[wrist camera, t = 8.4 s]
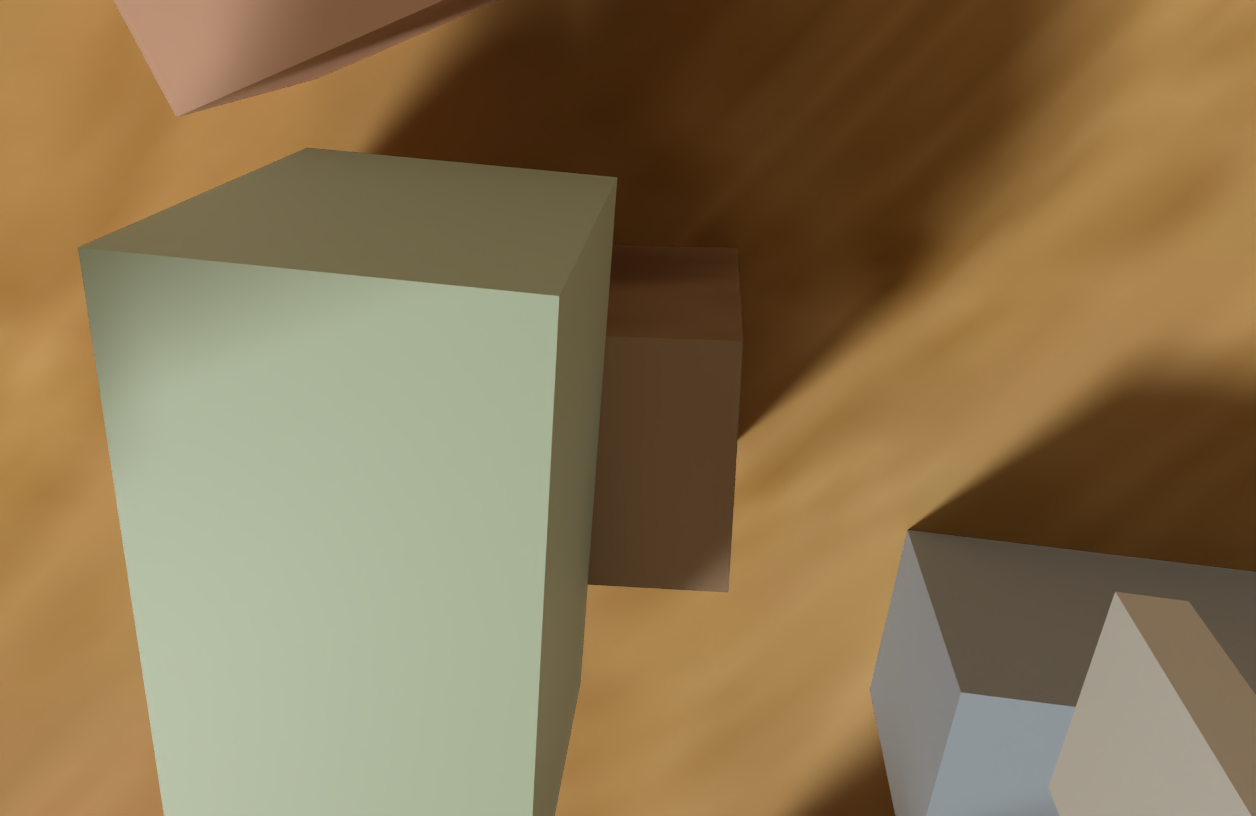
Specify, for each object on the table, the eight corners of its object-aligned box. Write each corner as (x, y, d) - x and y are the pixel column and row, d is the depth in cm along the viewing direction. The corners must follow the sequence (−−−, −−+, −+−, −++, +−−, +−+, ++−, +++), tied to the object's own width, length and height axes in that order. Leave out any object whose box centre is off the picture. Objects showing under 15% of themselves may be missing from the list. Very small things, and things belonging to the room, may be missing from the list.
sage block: (307, 147, 13) (77, 247, 8) (617, 177, 13) (559, 297, 8) (334, 652, 16) (180, 925, 11) (580, 682, 16) (524, 970, 11)
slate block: (1316, 575, 20) (1498, 760, 15) (1246, 734, 21) (1391, 944, 17) (906, 526, 20) (960, 691, 15) (869, 686, 21) (908, 878, 17)
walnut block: (737, 245, 18) (743, 341, 13) (726, 446, 19) (728, 592, 15) (303, 232, 18) (167, 319, 14) (328, 427, 20) (212, 563, 16)
